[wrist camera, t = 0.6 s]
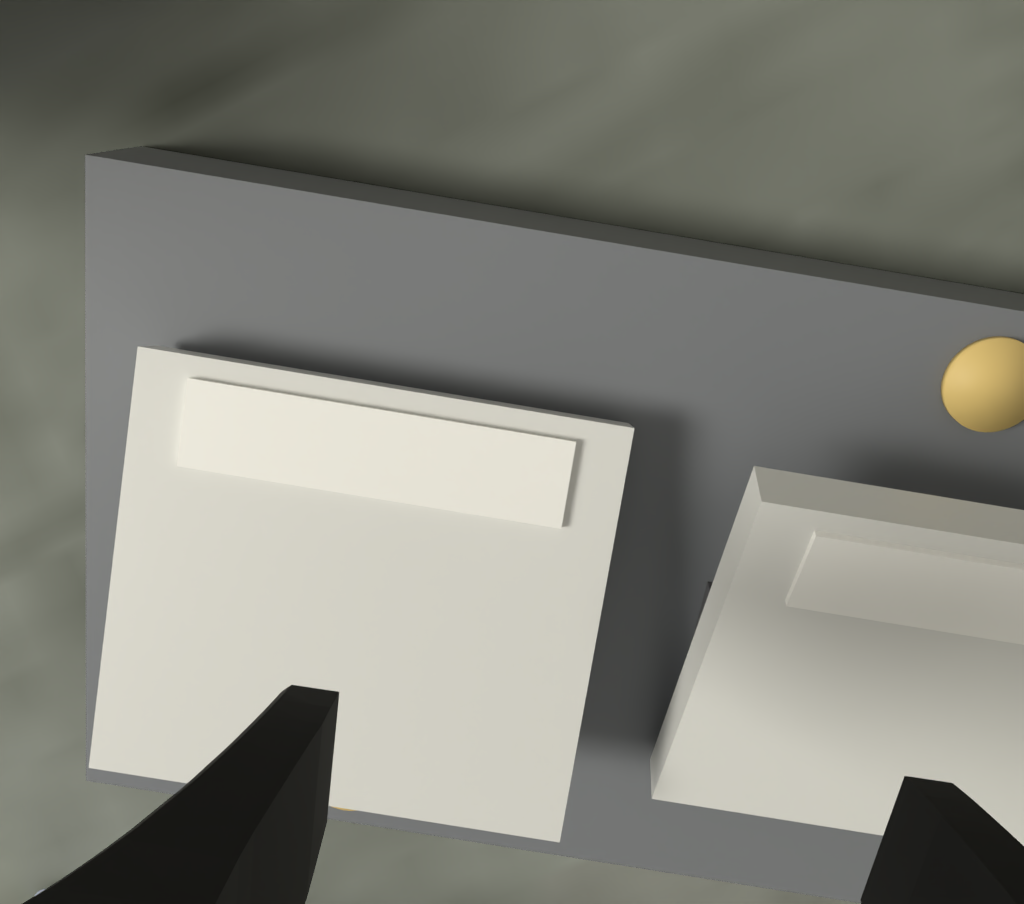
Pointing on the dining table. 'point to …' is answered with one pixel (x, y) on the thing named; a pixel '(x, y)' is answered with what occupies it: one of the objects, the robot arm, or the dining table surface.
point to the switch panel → (570, 389)
